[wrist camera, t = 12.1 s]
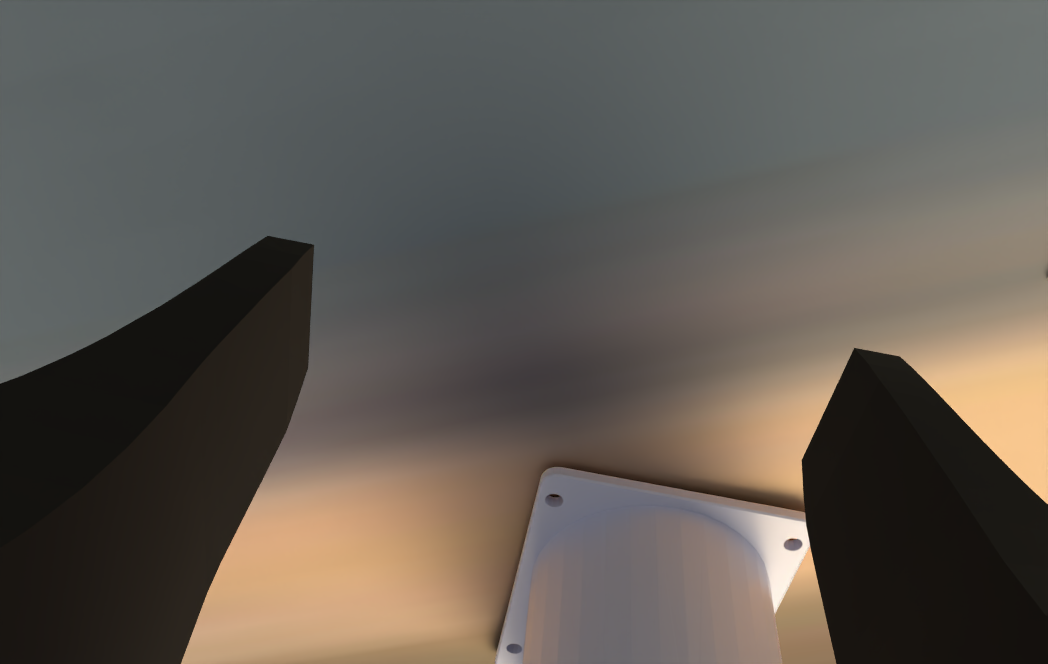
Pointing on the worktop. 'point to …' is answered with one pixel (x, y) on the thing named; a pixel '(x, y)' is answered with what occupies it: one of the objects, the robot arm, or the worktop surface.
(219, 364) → the robot arm
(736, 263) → the worktop surface
